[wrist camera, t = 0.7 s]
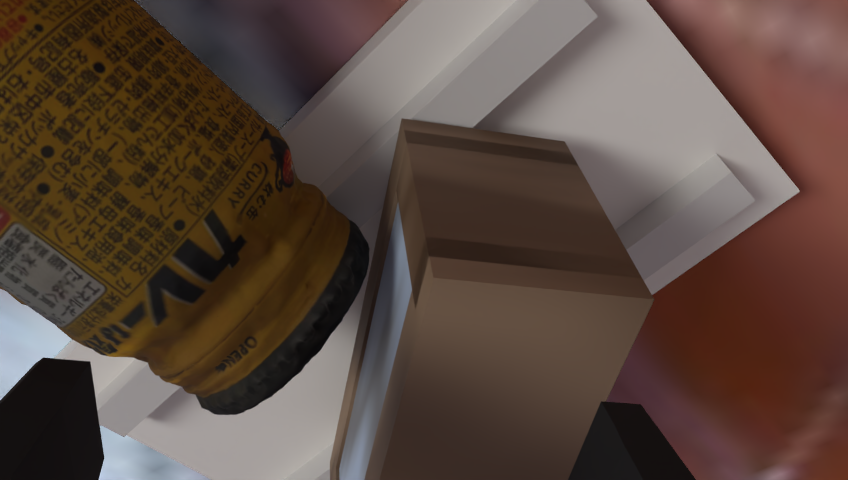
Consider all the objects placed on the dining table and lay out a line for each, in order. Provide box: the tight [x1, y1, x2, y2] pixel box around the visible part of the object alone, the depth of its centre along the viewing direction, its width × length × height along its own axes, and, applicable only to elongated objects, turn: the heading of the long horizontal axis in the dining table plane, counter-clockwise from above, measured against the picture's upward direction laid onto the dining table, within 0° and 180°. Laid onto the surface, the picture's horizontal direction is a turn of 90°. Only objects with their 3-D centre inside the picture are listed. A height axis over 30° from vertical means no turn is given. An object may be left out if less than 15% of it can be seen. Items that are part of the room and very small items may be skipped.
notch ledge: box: [54, 0, 800, 480], centre depth 22 cm, size 20×11×2 cm, turn 134°
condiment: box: [0, 0, 370, 415], centre depth 15 cm, size 7×8×12 cm
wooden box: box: [330, 118, 654, 480], centre depth 19 cm, size 12×4×6 cm, turn 168°
